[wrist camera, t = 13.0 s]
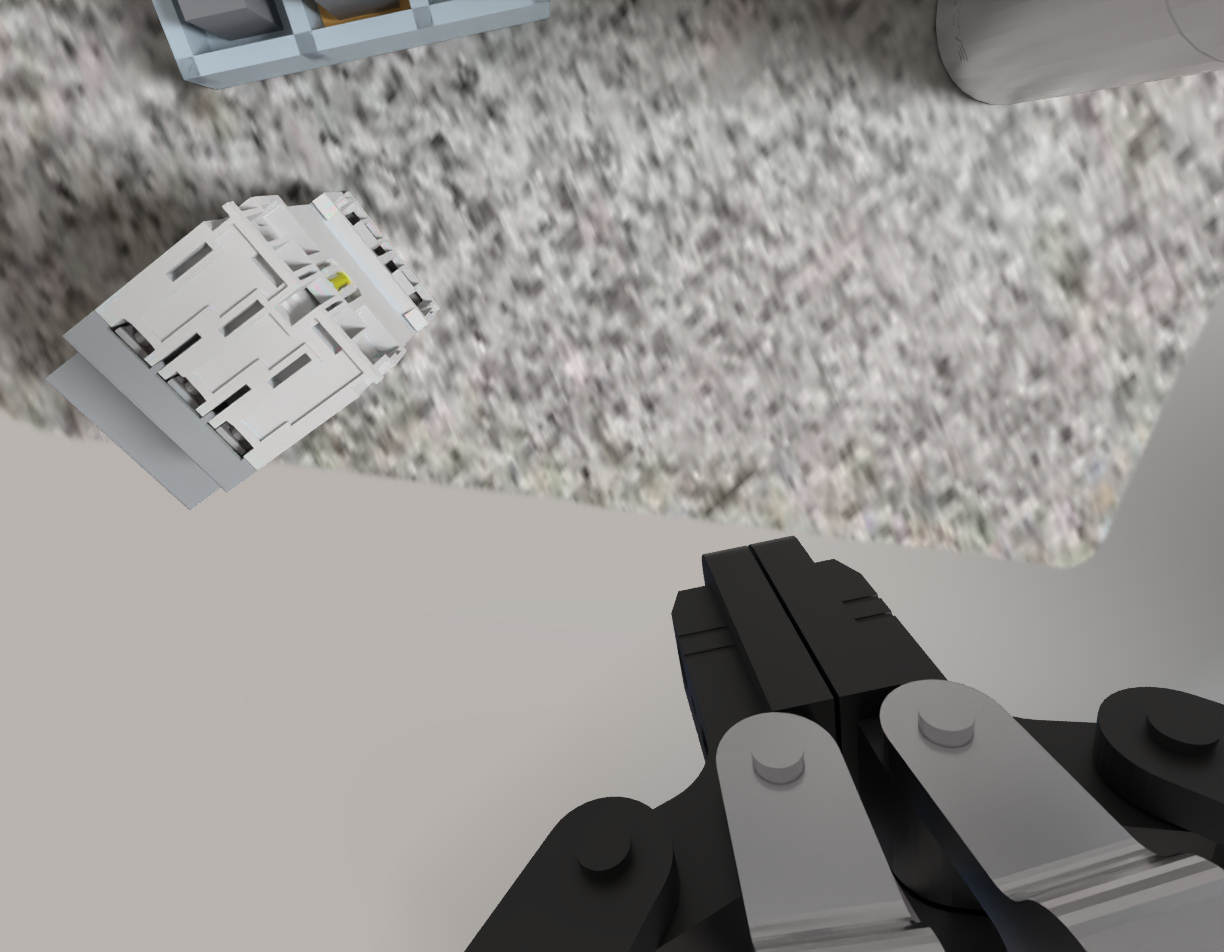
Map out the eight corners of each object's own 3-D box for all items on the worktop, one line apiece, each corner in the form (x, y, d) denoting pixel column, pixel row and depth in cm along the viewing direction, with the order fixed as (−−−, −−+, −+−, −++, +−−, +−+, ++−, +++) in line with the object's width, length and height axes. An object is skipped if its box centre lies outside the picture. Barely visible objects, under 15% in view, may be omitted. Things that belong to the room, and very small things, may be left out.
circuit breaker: (155, 343, 38) (-59, 433, 25) (349, 191, 36) (233, 197, 22) (255, 443, 41) (114, 574, 27) (440, 308, 39) (386, 376, 25)
